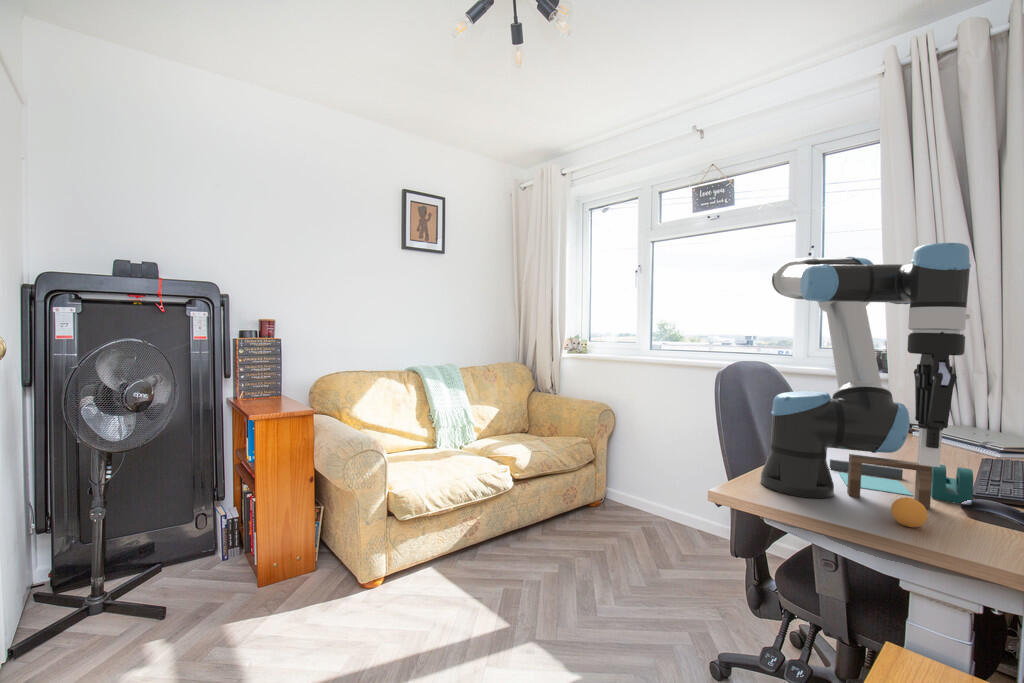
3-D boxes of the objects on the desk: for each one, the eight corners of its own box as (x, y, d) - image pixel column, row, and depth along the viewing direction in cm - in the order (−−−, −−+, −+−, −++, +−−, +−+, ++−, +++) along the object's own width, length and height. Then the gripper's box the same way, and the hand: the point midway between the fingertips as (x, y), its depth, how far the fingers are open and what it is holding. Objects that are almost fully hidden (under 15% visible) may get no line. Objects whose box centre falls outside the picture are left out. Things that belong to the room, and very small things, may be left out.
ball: (894, 527, 92) (895, 499, 91) (887, 518, 96) (888, 491, 96) (930, 534, 89) (932, 505, 89) (921, 524, 94) (923, 497, 94)
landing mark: (846, 485, 118) (846, 485, 118) (838, 472, 129) (838, 472, 129) (913, 496, 112) (913, 495, 112) (898, 481, 123) (898, 480, 123)
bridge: (929, 508, 103) (932, 467, 103) (849, 495, 110) (851, 456, 110) (925, 504, 106) (927, 463, 106) (847, 492, 113) (849, 453, 112)
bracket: (972, 507, 106) (974, 472, 106) (931, 499, 110) (933, 466, 110) (961, 488, 120) (963, 457, 120) (926, 482, 124) (928, 452, 124)
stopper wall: (830, 469, 133) (830, 460, 133) (829, 467, 134) (829, 459, 134) (902, 479, 125) (902, 469, 125) (900, 477, 127) (901, 468, 127)
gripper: (980, 332, 76) (971, 478, 76) (950, 333, 88) (942, 459, 88) (920, 330, 79) (912, 470, 80) (899, 332, 91) (892, 453, 92)
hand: (928, 464), depth 84 cm, fingers closed
